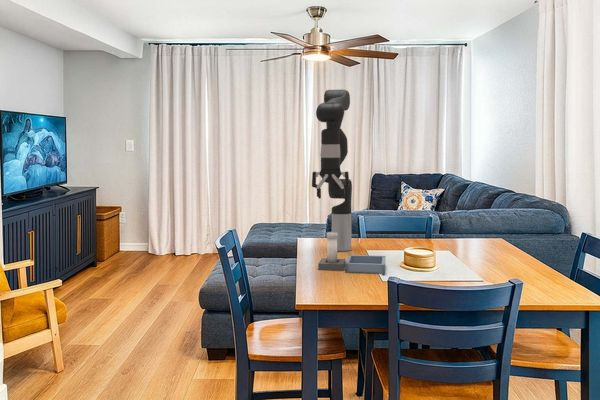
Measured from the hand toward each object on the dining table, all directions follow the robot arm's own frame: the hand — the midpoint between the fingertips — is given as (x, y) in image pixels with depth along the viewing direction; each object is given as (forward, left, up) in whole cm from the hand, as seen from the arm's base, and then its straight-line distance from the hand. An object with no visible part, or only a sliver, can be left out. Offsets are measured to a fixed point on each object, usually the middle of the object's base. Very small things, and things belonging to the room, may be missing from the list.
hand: (330, 198), depth 221 cm
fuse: (-6, 0, -29) cm, 29 cm away
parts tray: (-6, +13, -29) cm, 33 cm away
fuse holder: (-6, 0, -29) cm, 30 cm away
